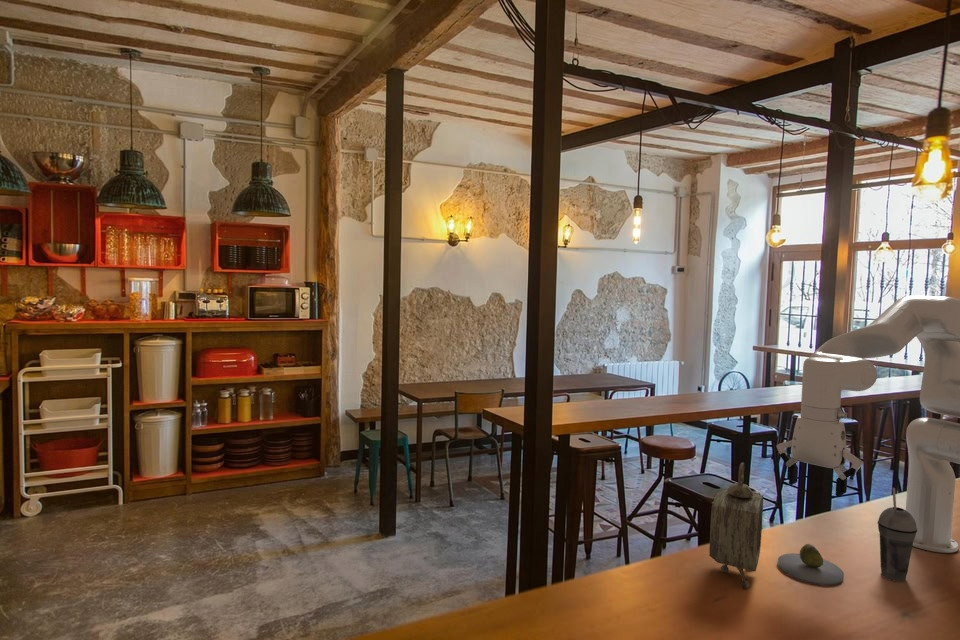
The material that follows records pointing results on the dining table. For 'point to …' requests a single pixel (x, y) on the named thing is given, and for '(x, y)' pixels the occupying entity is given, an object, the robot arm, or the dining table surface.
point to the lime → (811, 556)
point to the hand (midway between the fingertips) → (815, 489)
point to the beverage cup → (896, 541)
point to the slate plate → (810, 570)
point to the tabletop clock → (736, 527)
